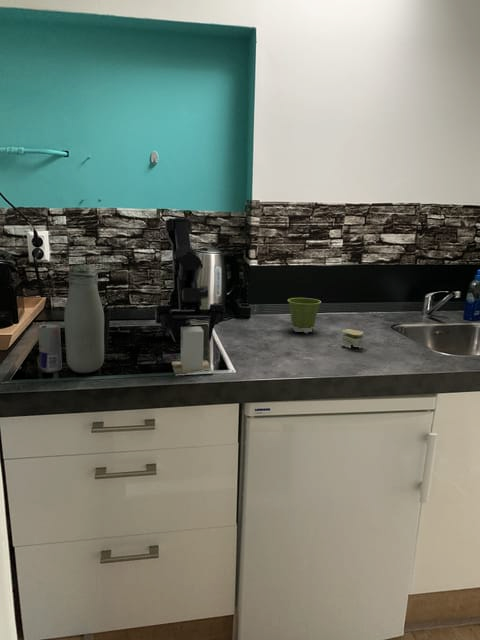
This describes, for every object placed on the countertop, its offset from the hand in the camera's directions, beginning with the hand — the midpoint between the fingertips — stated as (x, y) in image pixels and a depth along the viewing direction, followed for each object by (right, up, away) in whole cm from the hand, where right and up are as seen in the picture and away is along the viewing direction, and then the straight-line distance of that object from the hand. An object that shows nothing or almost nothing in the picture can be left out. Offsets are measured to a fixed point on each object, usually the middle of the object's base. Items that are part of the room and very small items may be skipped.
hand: (192, 340), depth 138 cm
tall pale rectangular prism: (-1, -7, +3) cm, 8 cm away
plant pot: (+35, +1, +47) cm, 59 cm away
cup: (-30, -4, +18) cm, 35 cm away
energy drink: (-38, -8, 0) cm, 38 cm away
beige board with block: (-1, -8, +3) cm, 9 cm away
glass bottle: (-28, -8, -1) cm, 29 cm away
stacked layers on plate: (+49, -4, +29) cm, 57 cm away
